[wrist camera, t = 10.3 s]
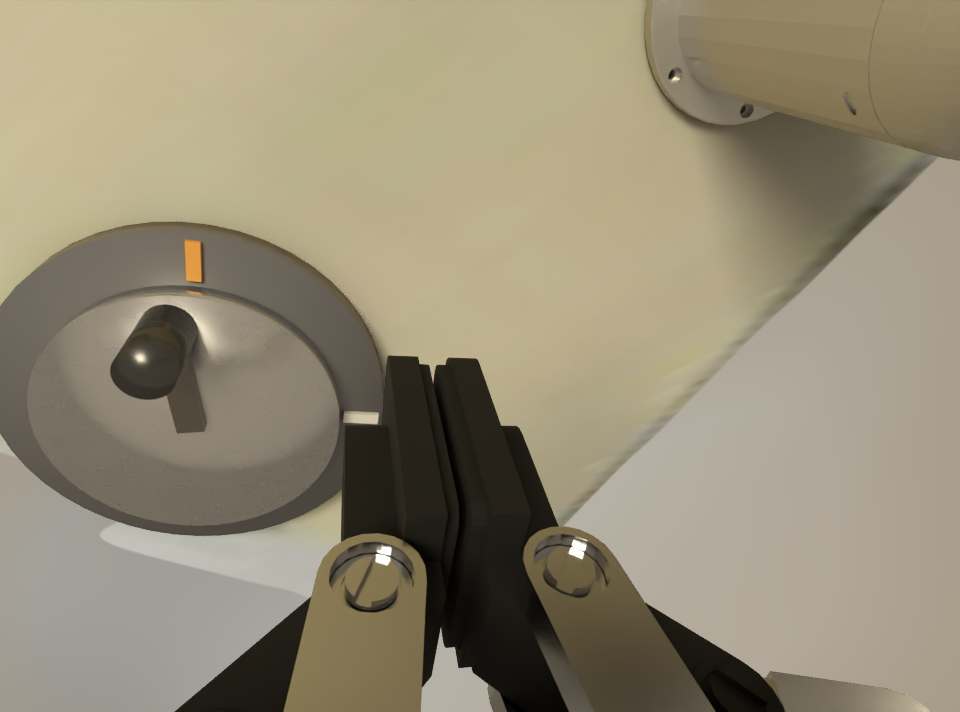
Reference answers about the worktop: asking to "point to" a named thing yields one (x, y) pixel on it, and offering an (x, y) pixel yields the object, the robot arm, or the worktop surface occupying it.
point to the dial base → (188, 262)
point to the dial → (184, 405)
